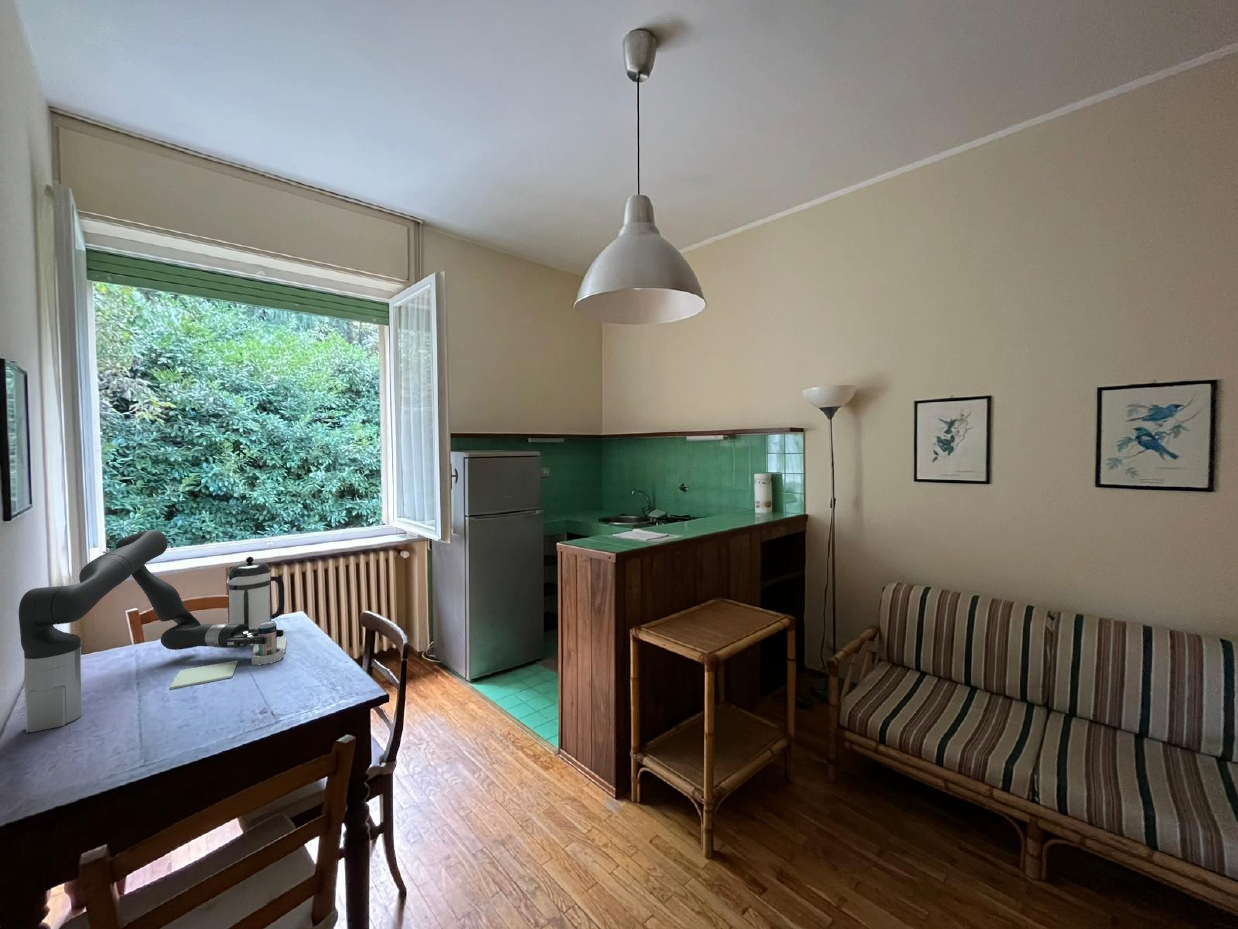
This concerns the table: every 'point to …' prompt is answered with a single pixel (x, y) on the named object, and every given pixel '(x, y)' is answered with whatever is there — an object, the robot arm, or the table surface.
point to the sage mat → (204, 674)
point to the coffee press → (252, 594)
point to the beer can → (268, 638)
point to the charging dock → (269, 658)
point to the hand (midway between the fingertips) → (274, 636)
